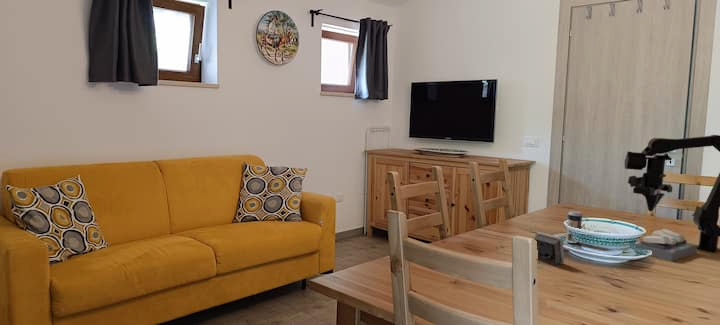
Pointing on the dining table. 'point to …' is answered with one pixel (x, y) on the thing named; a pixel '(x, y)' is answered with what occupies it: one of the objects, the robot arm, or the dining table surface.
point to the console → (669, 249)
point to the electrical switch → (549, 248)
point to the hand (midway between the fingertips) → (650, 211)
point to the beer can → (573, 223)
